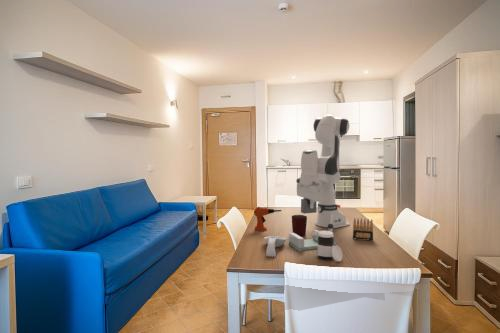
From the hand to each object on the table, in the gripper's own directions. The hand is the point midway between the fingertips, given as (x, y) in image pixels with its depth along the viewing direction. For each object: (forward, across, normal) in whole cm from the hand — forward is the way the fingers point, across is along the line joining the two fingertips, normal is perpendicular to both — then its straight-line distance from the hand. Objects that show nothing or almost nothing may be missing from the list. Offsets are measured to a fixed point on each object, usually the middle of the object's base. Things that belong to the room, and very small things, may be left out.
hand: (308, 207), depth 151 cm
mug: (+21, +20, -5) cm, 29 cm away
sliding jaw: (+19, 0, -10) cm, 21 cm away
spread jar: (+21, -19, 0) cm, 28 cm away
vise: (+20, 0, -2) cm, 21 cm away
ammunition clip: (+21, -1, -34) cm, 40 cm away
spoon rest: (+21, +2, +19) cm, 28 cm away
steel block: (+3, 0, 0) cm, 3 cm away
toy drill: (+21, +33, +10) cm, 40 cm away
